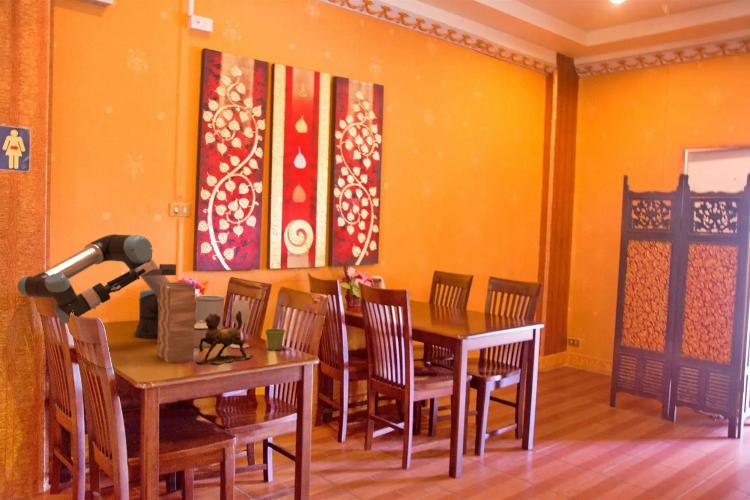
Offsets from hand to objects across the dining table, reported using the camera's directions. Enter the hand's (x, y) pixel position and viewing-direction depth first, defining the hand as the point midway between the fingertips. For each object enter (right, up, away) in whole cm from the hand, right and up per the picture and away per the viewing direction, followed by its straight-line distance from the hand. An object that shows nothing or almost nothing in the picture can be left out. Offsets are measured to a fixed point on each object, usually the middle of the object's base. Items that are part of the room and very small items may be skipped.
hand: (150, 265), depth 250 cm
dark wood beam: (+1, -4, +1) cm, 4 cm away
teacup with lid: (+12, -38, +30) cm, 50 cm away
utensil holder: (+4, -36, +73) cm, 81 cm away
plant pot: (+47, -39, +28) cm, 67 cm away
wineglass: (+30, -38, +31) cm, 58 cm away
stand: (+9, -39, +3) cm, 40 cm away
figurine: (+30, -40, +3) cm, 50 cm away
